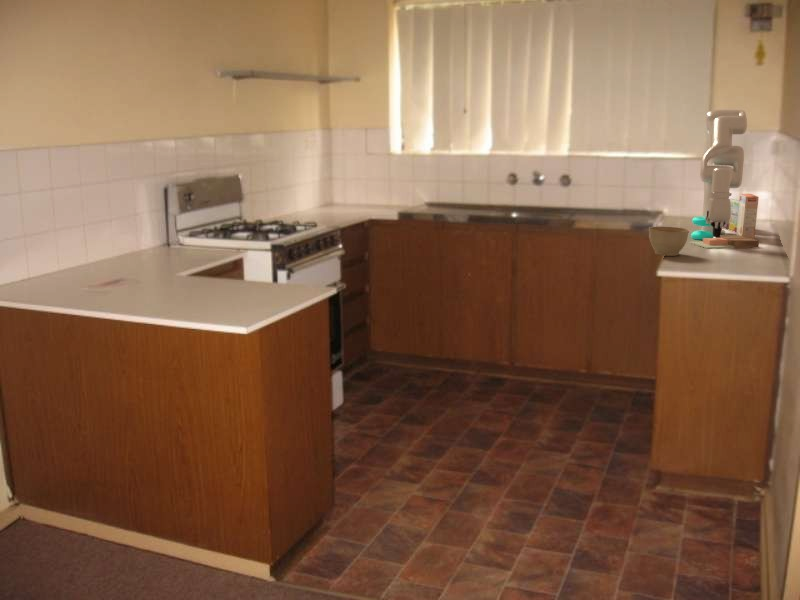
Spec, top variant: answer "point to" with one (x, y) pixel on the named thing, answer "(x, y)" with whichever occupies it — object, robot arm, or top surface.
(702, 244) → the sage mat
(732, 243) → the board
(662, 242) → the planter bowl
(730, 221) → the snack box
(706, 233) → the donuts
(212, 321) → the top surface
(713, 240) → the coral block
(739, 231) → the cracker box
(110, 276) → the top surface
